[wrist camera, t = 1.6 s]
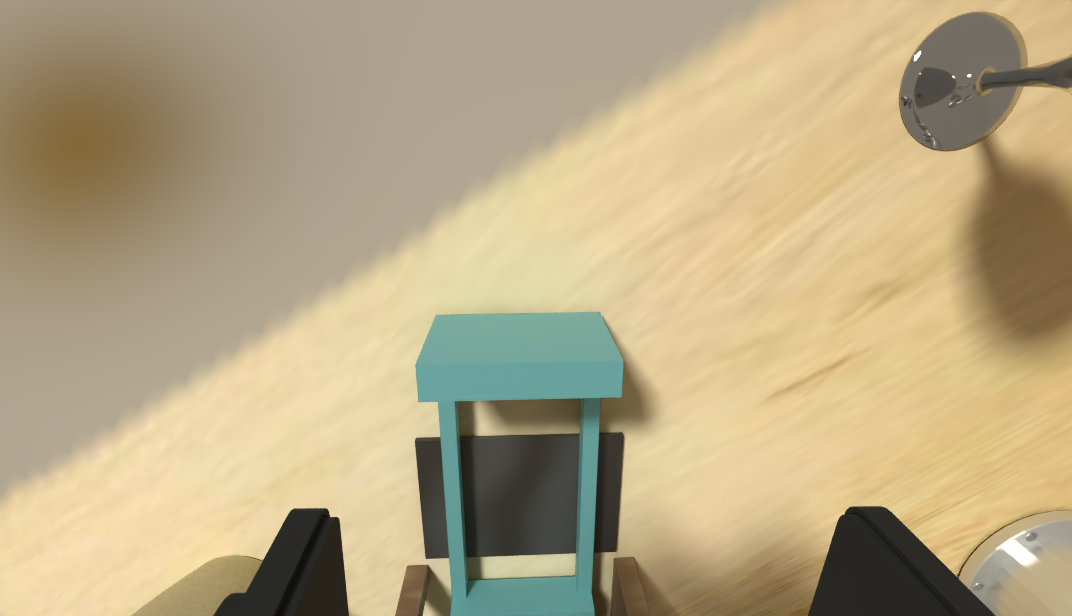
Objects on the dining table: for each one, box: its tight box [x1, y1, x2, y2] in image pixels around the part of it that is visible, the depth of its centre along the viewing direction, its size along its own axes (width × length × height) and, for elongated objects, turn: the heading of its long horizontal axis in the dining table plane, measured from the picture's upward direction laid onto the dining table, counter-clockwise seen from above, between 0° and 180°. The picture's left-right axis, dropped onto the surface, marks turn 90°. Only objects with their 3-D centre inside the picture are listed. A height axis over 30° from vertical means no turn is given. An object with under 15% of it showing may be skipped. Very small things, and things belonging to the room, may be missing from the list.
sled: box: [415, 312, 624, 616], centre depth 33 cm, size 10×31×7 cm, turn 0°
